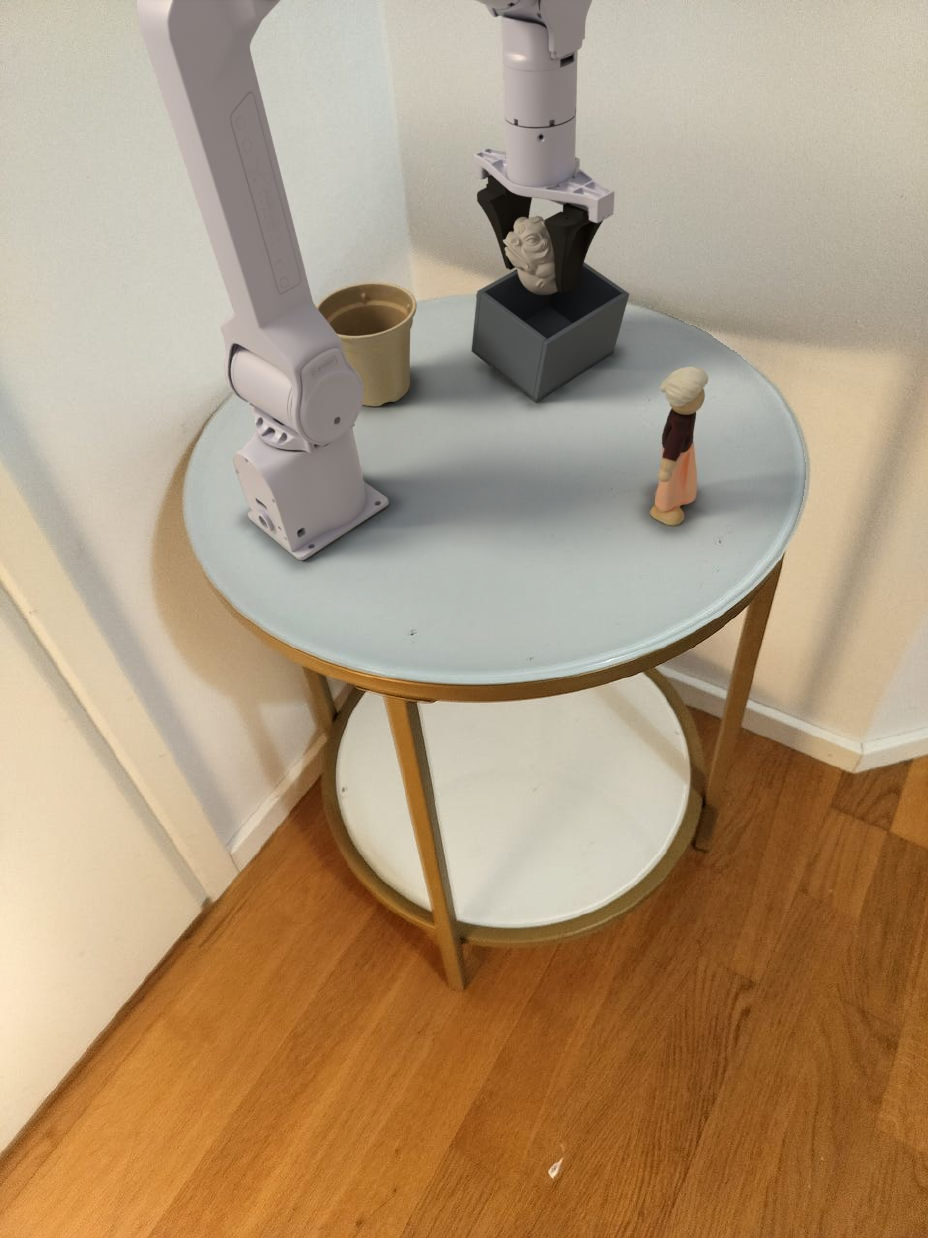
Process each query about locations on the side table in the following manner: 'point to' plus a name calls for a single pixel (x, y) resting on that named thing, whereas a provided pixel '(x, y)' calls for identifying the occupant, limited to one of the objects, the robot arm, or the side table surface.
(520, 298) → the basket
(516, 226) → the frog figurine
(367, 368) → the flower pot
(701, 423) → the side table surface
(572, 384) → the side table surface
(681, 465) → the grandmother figurine
